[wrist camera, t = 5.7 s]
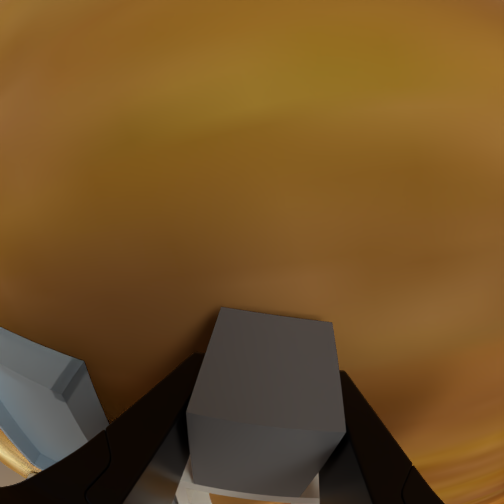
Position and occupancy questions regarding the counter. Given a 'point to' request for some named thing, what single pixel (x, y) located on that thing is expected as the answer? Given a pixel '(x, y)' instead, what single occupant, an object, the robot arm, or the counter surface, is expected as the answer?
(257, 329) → the white open-front box
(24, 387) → the tray
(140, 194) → the counter surface
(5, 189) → the counter surface
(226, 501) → the ball
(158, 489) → the robot arm
